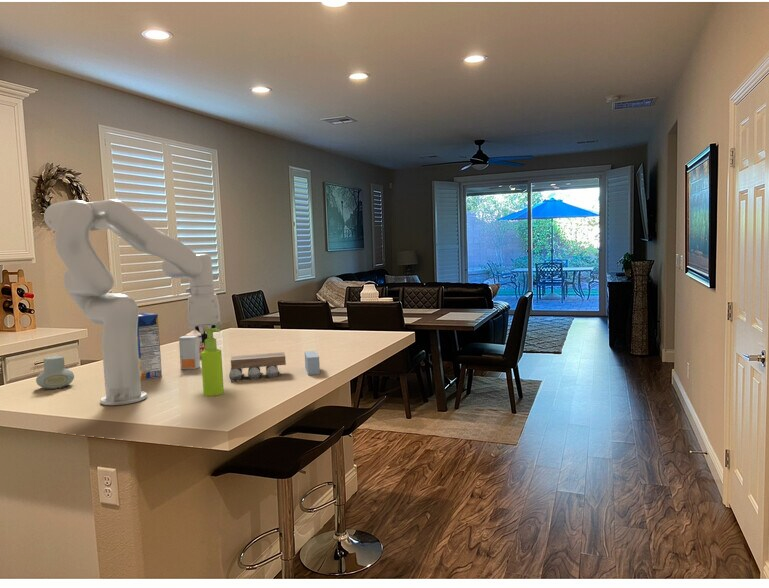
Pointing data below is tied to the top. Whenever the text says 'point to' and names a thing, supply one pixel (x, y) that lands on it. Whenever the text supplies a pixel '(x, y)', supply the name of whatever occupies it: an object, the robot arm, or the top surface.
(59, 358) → the air freshener
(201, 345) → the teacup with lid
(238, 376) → the roller
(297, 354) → the top surface
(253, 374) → the roller middle
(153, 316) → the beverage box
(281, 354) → the slab
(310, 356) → the stop block
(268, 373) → the roller
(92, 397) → the top surface
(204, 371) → the soap dispenser
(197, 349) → the skincare box
